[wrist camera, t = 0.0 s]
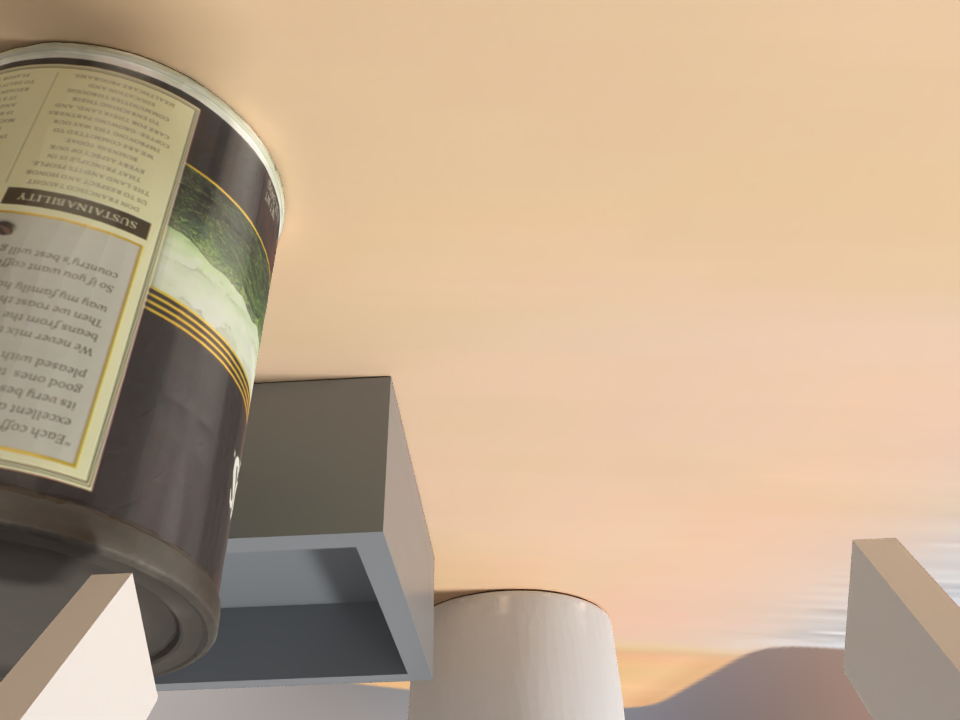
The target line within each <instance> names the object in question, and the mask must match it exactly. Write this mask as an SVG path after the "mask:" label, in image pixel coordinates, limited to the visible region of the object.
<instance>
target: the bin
mask: <svg viewBox="0 0 960 720" xmlns="http://www.w3.org/2000/svg"><path fill="white" fill-rule="evenodd" d="M219 597H220V602H221V610H220V620H219V627H218V633H217V638H216V640H215V642H214V644H213V645H212V647H211V648H210V650H209V651H208V652H207V653H206V654H205V655H204V656H202V657H201V658H199V659H197V660H196V661H195V662H194V663H192V664H190V665H188V666H186V667H184V668H181V669H179V670H177V671H174V672H171V673H168V674H165V675H162V676H158V677H155V678H154V681H155V686H156V691H172V690H195V689H196V690H197V689H219V688H220V689H221V688H244V687H271V686H296V685H322V684H348V683H373V682H398V681H423V680H433V634H434V554H433V550H432V545H431V541H430V537H429V533H428V529H427V525H426V520H425V516H424V512H423V508H422V504H421V500H420V496H419V491H418V487H417V483H416V479H415V475H414V471H413V467H412V462H411V458H410V454H409V450H408V446H407V442H406V437H405V433H404V429H403V425H402V421H401V417H400V413H399V408H398V404H397V400H396V396H395V392H394V388H393V383H392V379H391V377H377V378H357V379H338V380H319V381H299V382H280V383H261V384H253V390H252V396H251V401H250V408H249V414H248V420H247V426H246V433H245V440H244V445H243V452H242V457H241V465H240V469H239V474H238V484H237V488H236V493H235V499H234V505H233V510H232V516H231V521H230V528H229V535H228V543H227V550H226V554H225V560H224V566H223V573H222V579H221V586H220V591H219Z"/></svg>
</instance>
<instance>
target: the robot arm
mask: <svg viewBox="0 0 960 720" xmlns="http://www.w3.org/2000/svg"><path fill="white" fill-rule="evenodd" d="M843 671H844V673H845V674H846V676H847V678H848V679H849V681H850V682H851V684H852V686H853V687H854V689H855V691H856V692H857V694H858V696H859V697H860V699H861V701H862V702H863V704H864V706H865V707H866V709H867V710H868V712H869V714H870V715H871V717H872V719H873V720H960V607H959V606H958V605H957V604H956V603H955V602H954V601H953V600H952V599H951V598H950V597H949V595H948V594H947V593H946V592H945V591H944V590H943V589H942V588H941V587H940V586H939V584H938V583H937V582H936V581H935V580H934V579H933V578H932V577H931V576H930V575H929V573H928V572H927V571H926V570H925V569H924V568H923V567H922V566H921V565H920V564H919V563H918V561H917V560H916V559H915V558H914V557H913V556H912V555H911V554H910V553H909V552H908V550H907V549H906V548H905V547H904V546H903V545H902V544H901V543H900V542H899V541H898V539H897V538H883V539H861V540H853V543H852V557H851V570H850V584H849V597H848V611H847V624H846V638H845V651H844V666H843ZM157 699H158V696H157V691H156V686H155V681H154V676H153V672H152V667H151V662H150V657H149V652H148V647H147V642H146V637H145V632H144V627H143V622H142V618H141V613H140V608H139V603H138V598H137V593H136V588H135V583H134V578H133V573H119V574H97V575H91V576H90V577H89V578H88V580H87V581H86V582H85V583H84V584H83V586H82V587H81V588H80V589H79V590H78V591H77V593H76V594H75V595H74V596H73V597H72V599H71V600H70V601H69V602H68V603H67V604H66V606H65V607H64V608H63V609H62V610H61V612H60V613H59V614H58V615H57V616H56V617H55V619H54V620H53V621H52V622H51V623H50V625H49V626H48V627H47V628H46V629H45V630H44V632H43V633H42V634H41V635H40V636H39V638H38V639H37V640H36V641H35V642H34V643H33V645H32V646H31V647H30V648H29V649H28V651H27V652H26V653H25V654H24V655H23V656H22V658H21V659H20V660H19V661H18V662H17V664H16V665H15V666H14V667H13V668H12V669H11V671H10V672H9V673H8V674H7V675H6V677H5V678H4V679H3V680H2V681H1V682H0V720H146V719H147V717H148V715H149V713H150V712H151V710H152V708H153V706H154V704H155V703H156V701H157Z"/></svg>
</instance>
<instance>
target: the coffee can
mask: <svg viewBox="0 0 960 720" xmlns="http://www.w3.org/2000/svg"><path fill="white" fill-rule="evenodd" d="M284 216H285V200H284V192H283V185H282V182H281V178H280V175H279V173H278V171H277V168H276V166H275V164H274V162H273V160H272V157H271V155H270V154H269V152H268V150H267V149H266V147H265V146H264V144H263V143H262V141H261V140H260V139H259V137H258V136H257V135H256V133H255V132H254V131H253V130H252V128H251V127H250V126H249V125H248V124H247V123H246V121H245V120H244V119H243V118H242V117H241V116H240V115H239V114H238V113H236V112H235V111H234V110H233V109H232V108H231V107H230V106H229V105H228V104H226V103H225V102H224V101H223V100H222V99H220V98H219V97H218V96H216V95H215V94H214V93H212V92H211V91H209V90H208V89H207V88H205V87H204V86H202V85H201V84H199V83H198V82H196V81H194V80H193V79H191V78H190V77H188V76H185V75H183V74H181V73H179V72H177V71H175V70H173V69H171V68H169V67H167V66H165V65H162V64H160V63H157V62H155V61H152V60H149V59H147V58H144V57H142V56H139V55H136V54H132V53H128V52H124V51H120V50H116V49H112V48H108V47H101V46H94V45H87V44H78V43H60V42H52V43H41V44H36V45H31V46H27V47H21V48H15V49H11V50H7V51H4V52H2V53H0V682H1V681H2V680H3V679H4V678H5V677H6V675H7V674H8V673H9V672H10V671H11V669H12V668H13V667H14V666H15V665H16V664H17V662H18V661H19V660H20V659H21V658H22V656H23V655H24V654H25V653H26V652H27V651H28V649H29V648H30V647H31V646H32V645H33V643H34V642H35V641H36V640H37V639H38V638H39V636H40V635H41V634H42V633H43V632H44V630H45V629H46V628H47V627H48V626H49V625H50V623H51V622H52V621H53V620H54V619H55V617H56V616H57V615H58V614H59V613H60V612H61V610H62V609H63V608H64V607H65V606H66V604H67V603H68V602H69V601H70V600H71V599H72V597H73V596H74V595H75V594H76V593H77V591H78V590H79V589H80V588H81V587H82V586H83V584H84V583H85V582H86V581H87V580H88V578H89V577H90V576H91V575H97V574H119V573H133V578H134V583H135V588H136V593H137V598H138V603H139V608H140V613H141V618H142V622H143V627H144V632H145V637H146V642H147V647H148V652H149V657H150V662H151V667H152V672H153V676H154V678H155V677H158V676H162V675H165V674H168V673H171V672H174V671H177V670H179V669H181V668H184V667H186V666H188V665H190V664H192V663H194V662H195V661H196V660H197V659H199V658H201V657H202V656H204V655H205V654H206V653H207V652H208V651H209V650H210V648H211V647H212V645H213V644H214V642H215V640H216V638H217V633H218V627H219V620H220V610H221V602H220V597H219V591H220V586H221V579H222V573H223V566H224V560H225V554H226V550H227V543H228V535H229V528H230V521H231V516H232V510H233V505H234V499H235V493H236V488H237V484H238V474H239V469H240V465H241V457H242V452H243V445H244V440H245V433H246V426H247V420H248V414H249V408H250V401H251V396H252V390H253V384H254V378H255V372H256V365H257V359H258V353H259V347H260V341H261V335H262V329H263V323H264V318H265V312H266V307H267V301H268V294H269V289H270V283H271V278H272V271H273V266H274V260H275V254H276V248H277V243H278V240H279V237H280V234H281V231H282V227H283V223H284Z"/></svg>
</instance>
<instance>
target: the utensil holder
mask: <svg viewBox="0 0 960 720" xmlns="http://www.w3.org/2000/svg"><path fill="white" fill-rule="evenodd" d="M408 720H625V718H624V709H623V700H622V692H621V685H620V678H619V671H618V665H617V658H616V651H615V644H614V637H613V631H612V626H611V621H610V618H609V617H608V615H607V614H606V613H605V612H604V611H603V610H602V609H601V608H599V607H598V606H596V605H594V604H592V603H590V602H588V601H585V600H582V599H579V598H576V597H572V596H569V595H564V594H559V593H551V592H543V591H496V592H486V593H480V594H473V595H468V596H463V597H459V598H455V599H451V600H448V601H446V602H443V603H440V604H438V605H436V606H434V634H433V680H423V681H410V694H409V710H408Z"/></svg>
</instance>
